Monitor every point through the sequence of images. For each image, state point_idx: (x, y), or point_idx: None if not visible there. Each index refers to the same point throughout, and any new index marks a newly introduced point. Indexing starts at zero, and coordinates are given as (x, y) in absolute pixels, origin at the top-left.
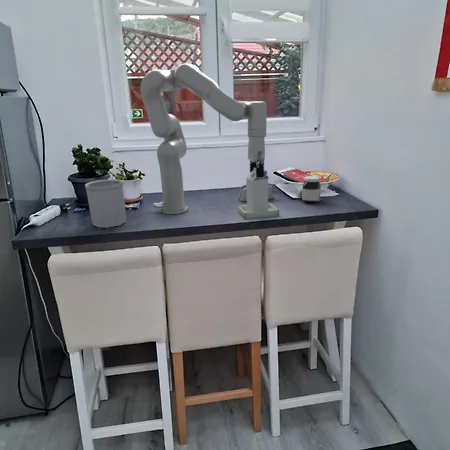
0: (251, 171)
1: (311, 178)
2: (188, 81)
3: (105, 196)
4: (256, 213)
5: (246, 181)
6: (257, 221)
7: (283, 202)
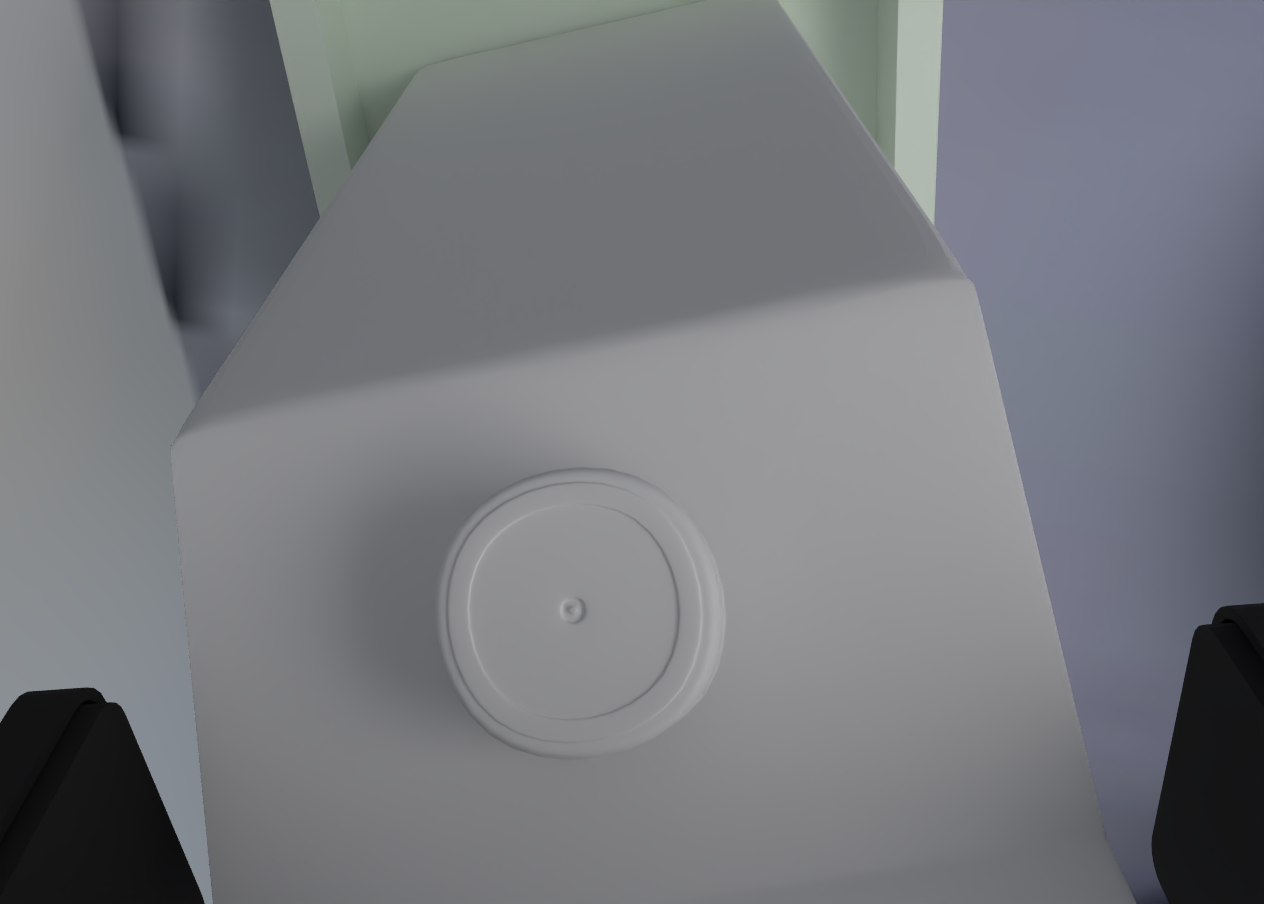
0: (1216, 684)
1: None
2: None
3: None
4: (312, 142)
5: (889, 211)
6: (117, 95)
7: (1139, 714)
